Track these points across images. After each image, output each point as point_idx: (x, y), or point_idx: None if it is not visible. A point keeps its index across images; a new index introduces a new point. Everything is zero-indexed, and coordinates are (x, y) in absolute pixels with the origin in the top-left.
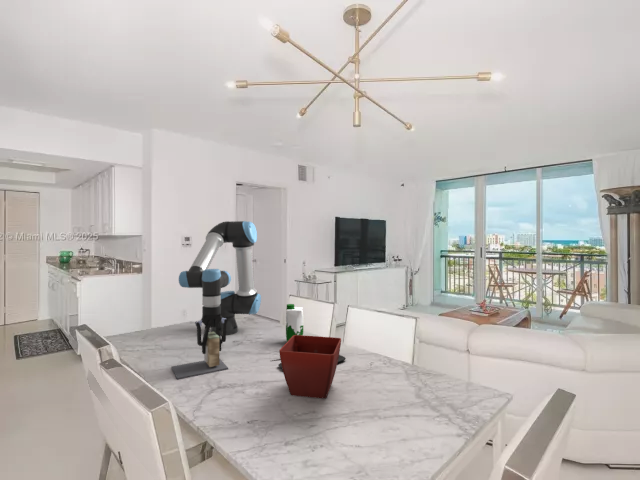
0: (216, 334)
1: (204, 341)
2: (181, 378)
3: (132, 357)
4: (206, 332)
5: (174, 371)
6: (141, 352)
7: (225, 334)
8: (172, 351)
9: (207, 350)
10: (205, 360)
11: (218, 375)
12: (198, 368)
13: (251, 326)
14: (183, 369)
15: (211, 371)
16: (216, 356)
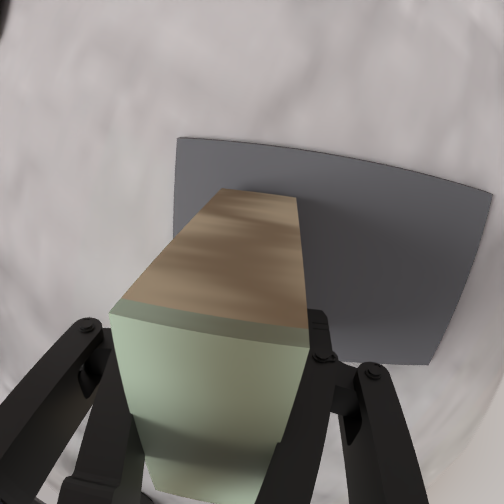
0: (139, 422)
1: (325, 390)
2: (472, 187)
3: (429, 476)
4: (297, 495)
5: (458, 296)
6: None
7: (39, 367)
8: (317, 481)
9: None
10: None
11: (278, 73)
12: (349, 256)
13: None
14: (417, 295)
15: (300, 149)
16: (232, 209)
